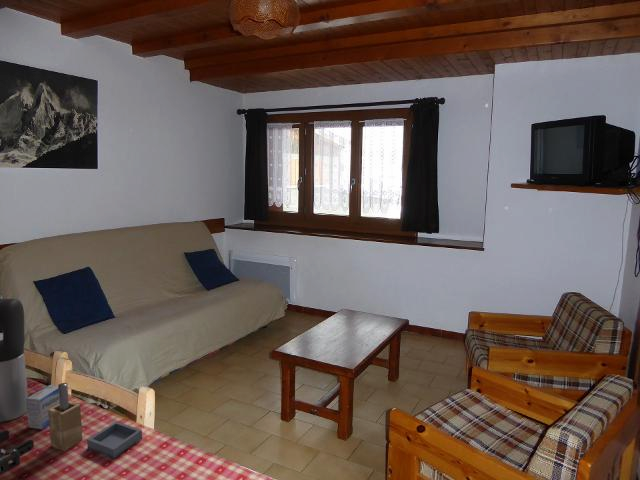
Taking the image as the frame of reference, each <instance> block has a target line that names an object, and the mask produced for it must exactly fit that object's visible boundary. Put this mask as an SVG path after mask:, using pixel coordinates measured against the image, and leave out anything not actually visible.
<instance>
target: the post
mask: <svg viewBox="0 0 640 480" xmlns="http://www.w3.org/2000/svg"><path fill="white" fill-rule="evenodd" d="M68 385H69V384H68V383H67V382H61V383H59V384H57V386H58V390H59V404H60V411H61V412H64V411H66V410H68V409H69V401H70V400H69V388H68Z"/></svg>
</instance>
